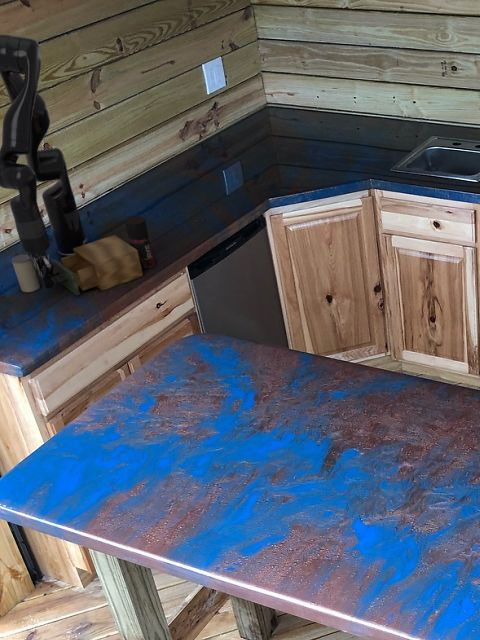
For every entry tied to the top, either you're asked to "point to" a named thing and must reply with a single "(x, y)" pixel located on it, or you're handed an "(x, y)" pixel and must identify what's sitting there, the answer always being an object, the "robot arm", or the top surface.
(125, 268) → the cabinet
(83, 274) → the drawer
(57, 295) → the top surface
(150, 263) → the deodorant
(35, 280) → the tin can
